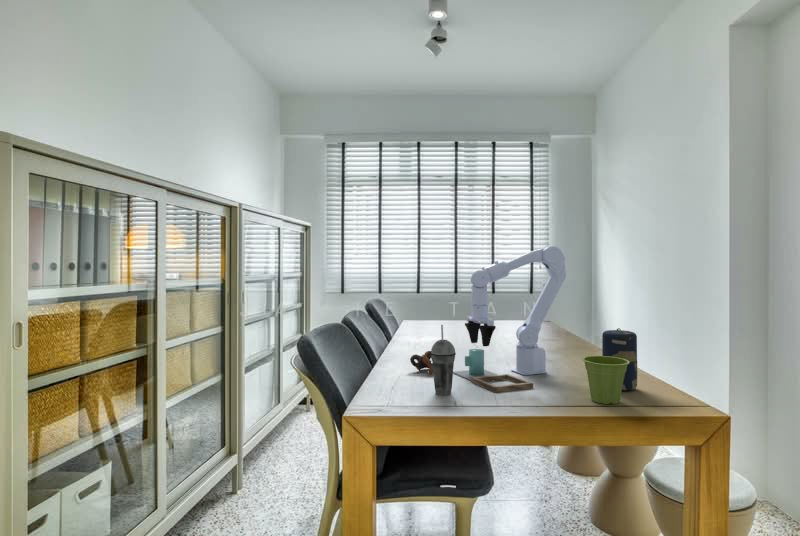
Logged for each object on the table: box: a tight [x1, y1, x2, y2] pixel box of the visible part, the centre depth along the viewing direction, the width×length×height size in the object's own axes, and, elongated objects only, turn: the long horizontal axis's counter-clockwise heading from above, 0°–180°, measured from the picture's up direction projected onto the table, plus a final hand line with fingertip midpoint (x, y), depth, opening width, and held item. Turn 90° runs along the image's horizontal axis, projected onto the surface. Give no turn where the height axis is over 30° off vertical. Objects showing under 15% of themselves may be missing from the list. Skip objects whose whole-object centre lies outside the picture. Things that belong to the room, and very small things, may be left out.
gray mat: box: [453, 369, 499, 382], centre depth 168 cm, size 12×12×1 cm
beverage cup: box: [430, 324, 457, 397], centre depth 145 cm, size 7×7×20 cm
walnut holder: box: [471, 373, 534, 393], centre depth 154 cm, size 13×13×2 cm
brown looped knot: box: [409, 350, 434, 376], centre depth 174 cm, size 12×10×8 cm
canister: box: [601, 327, 638, 391], centre depth 150 cm, size 10×10×18 cm
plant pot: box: [581, 355, 630, 405], centre depth 136 cm, size 12×12×11 cm
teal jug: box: [464, 348, 485, 376], centre depth 168 cm, size 7×5×8 cm
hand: (480, 344), depth 174 cm, fingers open, 7 cm apart
